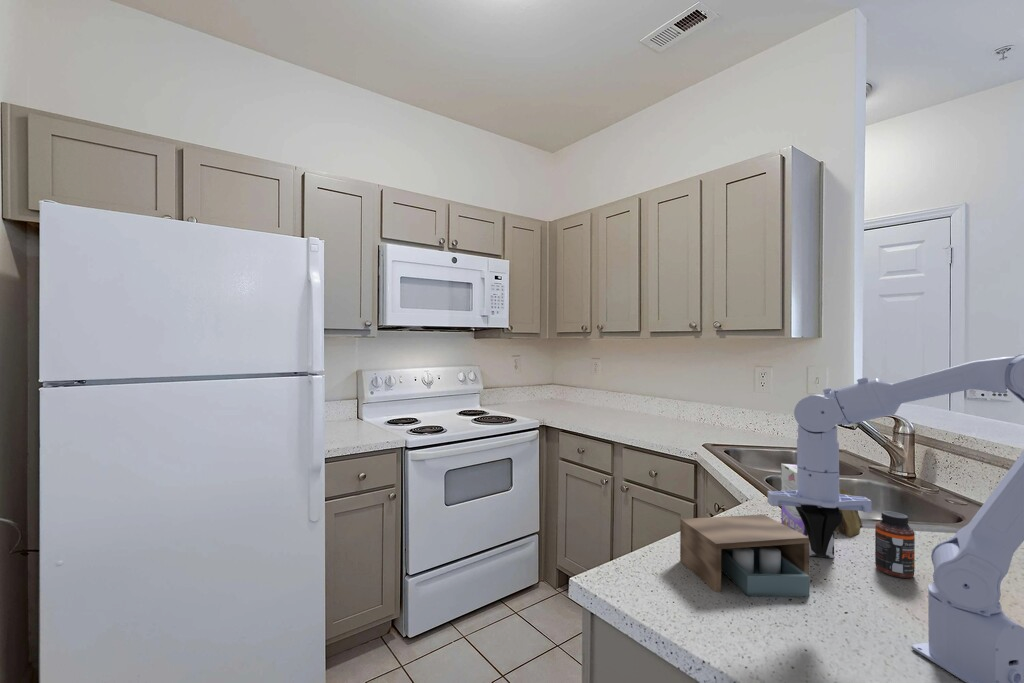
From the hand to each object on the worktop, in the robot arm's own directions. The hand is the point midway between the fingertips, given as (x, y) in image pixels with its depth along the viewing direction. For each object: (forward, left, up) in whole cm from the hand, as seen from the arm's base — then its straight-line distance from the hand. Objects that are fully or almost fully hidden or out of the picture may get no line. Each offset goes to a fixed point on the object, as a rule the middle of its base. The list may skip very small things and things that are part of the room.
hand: (818, 552), depth 74 cm
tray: (+12, +1, -10) cm, 16 cm away
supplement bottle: (+11, -28, -11) cm, 31 cm away
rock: (+31, -39, -11) cm, 51 cm away
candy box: (+25, -21, -11) cm, 34 cm away
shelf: (+15, +2, -10) cm, 19 cm away
